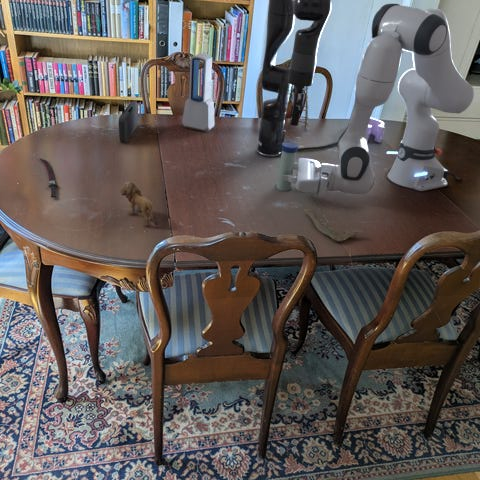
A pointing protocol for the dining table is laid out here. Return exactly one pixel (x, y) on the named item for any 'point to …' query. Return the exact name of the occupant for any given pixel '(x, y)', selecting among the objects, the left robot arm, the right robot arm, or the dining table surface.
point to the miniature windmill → (304, 110)
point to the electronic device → (199, 97)
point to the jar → (285, 170)
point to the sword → (52, 181)
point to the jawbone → (331, 232)
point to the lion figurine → (137, 201)
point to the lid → (289, 147)
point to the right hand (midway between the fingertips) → (283, 171)
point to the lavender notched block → (375, 129)
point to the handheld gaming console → (128, 121)
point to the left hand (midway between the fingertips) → (293, 120)
